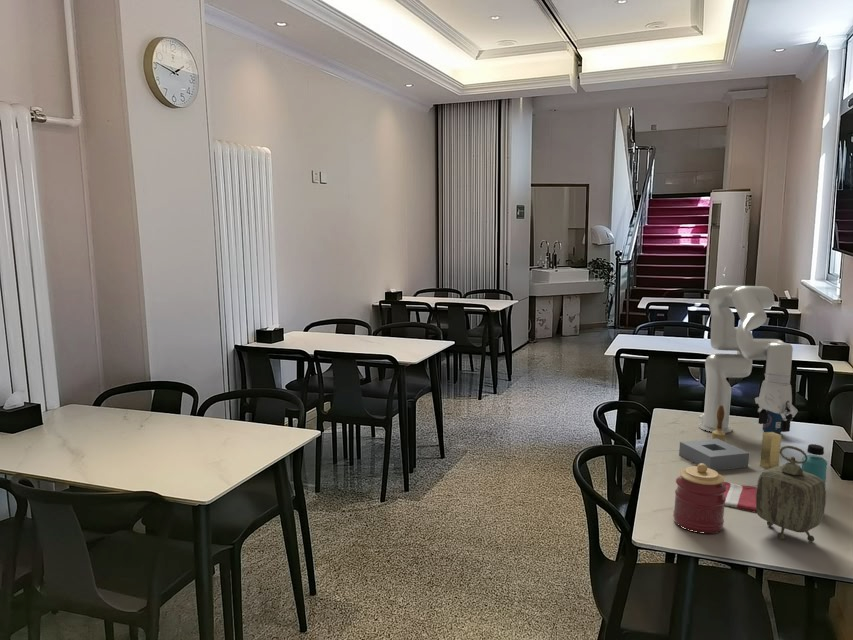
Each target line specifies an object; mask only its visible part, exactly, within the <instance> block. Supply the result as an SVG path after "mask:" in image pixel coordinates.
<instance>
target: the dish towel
mask: <svg viewBox="0 0 853 640" xmlns="http://www.w3.org/2000/svg"><path fill="white" fill-rule="evenodd" d="M722 483H724V484H725V485H726V487H727V490H726V491H725V492H724V497H725V499H726V501H725V506H724V507H729V506H731V508H734V507H735V509H738V508H739V510H742V509H744V510H743V511H747V510H749V511H748V512H752V511H755V512H754V513H757V509H756V489H757V486H750V485H744V484H743V485H740V484H736V483H731V482H728V481H727V482H726V481H723V482H722Z"/></svg>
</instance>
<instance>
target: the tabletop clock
mask: <svg viewBox="0 0 853 640" xmlns="http://www.w3.org/2000/svg"><path fill="white" fill-rule="evenodd" d="M785 449H789V450H794V451H797V452H800V453H801V454H802V455H804V457H805V461H802V460H801V461H800V460H796V457H795V456H791V457H790V458H788V457H786V456H785V455H784V454H783V453H782V452H783V450H785ZM807 455H808V454H806V453H805V451H804V450H802V449H801V448H798V447H796V446H793V445H792V446H791V445H785V446H781V447H780V456H781V457H782V458H783V459H784V460H786V461H787V462H786V463H783V464H782V465H779V466H775V467H773V468H770V469H766V470H763V471H762V472H761V473H760V474H759V476H758V477H759V478H758V480H757V485H756V487H757V489H756V509H757V512H756V513H757V515H758V517H760V519H762V520H764V521H766V524H767V526H769V527H773V526H774V525H775V526H777V527H780V528H781V530H780V532H779V533H777V537H778V538H779V539H780V538H781V540H784V539H785V537H786V535H785V533H784V532H785V530H789V531H791V532H796V533H805V534H806V535H807V538H806V539H807V540H809V542H810V541H811V542H814V541H815V537H814V536H813V535H810V533H809V531H811V530H812V529H814V528H816V527H818V526H819V525H820V524H821V522H822V520H823V517H824V515H825V514H824V513H825V510H826V509H825V508H826V504H827V503H826V502H827V501H826V498H827V494H826V493H827V492H826V489H825V485H826V484H825V485H824V482H823V480H821V479H820V478H819V477H817V476H815V475H812V474H810V473H807V472H804V471H802V466H800V465H799V464H801V465H802V463H805V462H806V461H807Z"/></svg>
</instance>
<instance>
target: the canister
mask: <svg viewBox="0 0 853 640" xmlns="http://www.w3.org/2000/svg"><path fill="white" fill-rule="evenodd" d="M722 482H725V478H724V476H723V475H721V474H720V473H718V471H717V470H712V469H710V468H707V466H706V465H705V464H703V463H700V464H698V465H696V466H695V465H694V466H687V467H686V468H684V469H681V470H679V476H677V478H676V479H675V484H676V485H677V487H676V489H675V490H674V493H675V494H674V498H675V499H674V510H673V514H672V515H673V521H674V520H675V521H674V523H675V522H676V523H677V524H679V525H680V526H682V527H684V528H686V529H689V530H693V531H697V532H704V533H714V534H717V533H716V532H718V533H720V532H722V530H723V527H724V525H725V520H724V519H725V518H724V516H725V507H726V506H725V501H726V499H725V497H724V492H725V491H726V490H727V487H726V485H725V484H724V483H722ZM676 523H675V524H676ZM677 524H676V525H677ZM680 526H679V527H680ZM719 531H720V532H719Z"/></svg>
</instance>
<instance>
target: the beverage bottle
mask: <svg viewBox="0 0 853 640" xmlns="http://www.w3.org/2000/svg"><path fill="white" fill-rule="evenodd" d="M806 450H807V451H806V452H807V453H808V454H806V455H807V461H806V462H805V463H802V464H801V469H802V471H804V472H807V473H810V474H812V475H815V476H817V477H819V478H820V479H821V480H823V482H824V485H825V490H826V482H827V468H828V467H827V466H828V462H827V460H826V459H825V458H824V457H823V455H824V454H825V450H824V446H822V445H819V444H813V443H811V444H807V449H806ZM801 461H805V456H804V457H802V459H801Z"/></svg>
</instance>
